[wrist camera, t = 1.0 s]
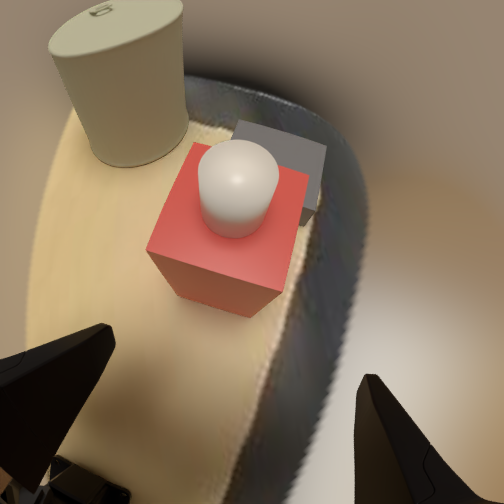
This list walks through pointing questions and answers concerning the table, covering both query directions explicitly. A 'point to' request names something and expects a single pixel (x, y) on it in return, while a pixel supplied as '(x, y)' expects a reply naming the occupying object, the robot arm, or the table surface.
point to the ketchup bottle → (229, 227)
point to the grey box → (289, 157)
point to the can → (126, 77)
